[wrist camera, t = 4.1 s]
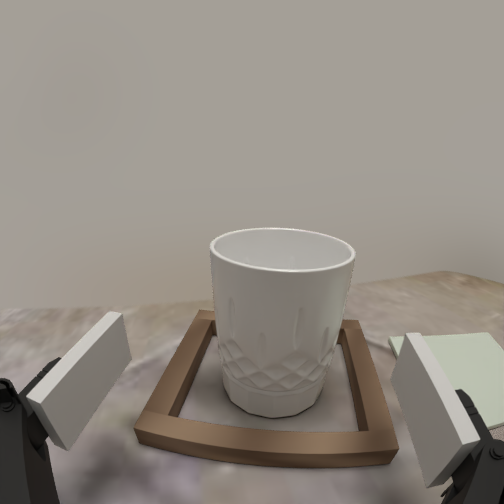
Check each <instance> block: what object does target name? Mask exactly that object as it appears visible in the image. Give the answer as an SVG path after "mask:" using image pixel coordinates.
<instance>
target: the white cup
mask: <svg viewBox="0 0 504 504" xmlns="http://www.w3.org/2000/svg"><path fill="white" fill-rule="evenodd" d="M355 256H356V253H355V250H354V249H353V248H352V247H351V246H350V245H349V244H348V243H346V242H344V241H342V240H340V239H338V238H335V237H332V236H329V235H325V234H321V233H317V232H312V231H307V230H298V229H289V228H253V229H244V230H238V231H233V232H229V233H226V234H223V235H220V236H218V237H217V238H215V239H214V240H213V241H212V242H211V244H210V258H211V273H212V285H213V286H212V287H213V300H214V313H215V324H216V332H217V337H218V349H219V355H220V359H221V363H222V374H223V384H224V388H225V390H226V392H227V394H228V396H229V398H230V400H231V401H232V402H233V403H235V404H236V405H237V406H239V407H240V408H242V409H243V410H245V411H246V412H248V413H251V414H255V415H259V416H264V417H269V418H277V417H285V416H292V415H296V414H298V413H300V412H302V411H303V410H305V409H307V408H309V407H310V406H312V405H314V403H315V401H316V400H317V398H318V396H319V394H320V393H321V391H322V388H323V385H324V381H325V377H326V373H327V370H328V368H329V366H330V363H331V361H332V357H333V353H334V349H335V346H336V343H337V339H338V335H339V332H340V328H341V324H342V320H343V315H344V311H345V306H346V302H347V297H348V292H349V287H350V282H351V277H352V272H353V266H354V261H355Z"/></svg>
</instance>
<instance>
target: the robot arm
mask: <svg viewBox="0 0 504 504" xmlns="http://www.w3.org/2000/svg"><path fill="white" fill-rule="evenodd" d="M131 360H132V357H131V353H130V349H129V344H128V340H127V335H126V330H125V325H124V320H123V314H122V313H117V312H111V311H109V312H108V313H107V314H106V315H105V316H104V317H103V318H102V319H101V320H100V321H99V322H98V323H97V324H96V325H95V326H94V327H93V328H92V329H91V330H90V331H89V332H88V333H87V334H85V335H84V336H83V337H82V338H81V339H80V340H79V341H78V342H77V343H76V344H75V345H74V346H73V348H72V349H71V350H70V351H69V352H68V353H67V354H66V355H65V356H64V357H63V358H59V357H58V358H57V359H55V360H53V361H51V362H49V363H48V364H47V365H46V366H45V367H44V368H43V369H42V371H40V372H39V373H38V374H37V377H35V378H34V379H33V380H32V381H31V382H30V383H29V384H28V385H27V386H26V387H25V388H24V389H23V390H22V391H21V392H20V393H19V394H17V392H16V390H15V388H14V386H13V384H12V383H11V381H10V380H8V379H5V378H0V504H60V502H59V499H58V495H57V491H56V486H55V482H54V477H53V473H52V468H51V462H50V457H49V451H48V445H47V443H46V441H45V440H46V438H47V437H48V436H49V437H50V439H51V440H52V442H53V443H54V445H56V446H58V447H60V448H62V449H64V450H67V451H69V450H70V449H71V447H72V446H73V444H74V443H75V441H76V440H77V438H78V436H79V435H80V433H81V432H82V430H83V429H84V427H85V426H86V425H87V423H88V422H89V420H90V419H91V417H92V416H93V414H94V413H95V411H96V410H97V408H98V407H99V405H100V404H101V402H102V401H103V400H104V398H105V397H106V395H107V394H108V392H109V391H110V389H111V388H112V387H113V385H114V384H115V382H116V381H117V379H118V378H119V377H120V375H121V374H122V372H123V371H124V369H125V368H126V367H127V365H128V364H129V362H130V361H131ZM391 382H392V384H393V387H394V390H395V392H396V395H397V398H398V401H399V403H400V406H401V409H402V412H403V415H404V418H405V420H406V423H407V426H408V429H409V432H410V435H411V438H412V441H413V444H414V448H415V451H416V454H417V457H418V460H419V464H420V467H421V470H422V474H423V477H424V481H425V484H426V488H430V487H434V486H437V485H441V484H444V483H445V482H446V481H447V480H448V479H449V477H450V476H452V479H453V483H452V484H451V485H450V486H449V487H448V488H447V489H446V490H445V491H444V492H443V493H442V495H441V497H443V496H444V495H445V494H446V495H445V497H444V499H443V501H442V503H441V504H504V442H503V441H501V440H497V439H493V438H492V436H491V434H490V432H489V430H488V428H487V426H486V424H485V423H484V421H483V419H482V417H481V415H480V414H479V412H478V410H477V408H476V407H475V405H474V403H473V401H472V399H471V398H470V396H469V395H468V394H466V393H465V392H464V391H463V390H462V389H458V390H454V388H453V387H452V385H451V383H450V381H449V380H448V378H447V376H446V374H445V373H444V371H443V369H442V368H441V366H440V364H439V363H438V361H437V359H436V358H435V356H434V355H433V353H432V351H431V350H430V348H429V347H428V345H427V343H426V342H425V340H424V339H423V337H422V336H421V334H420V333H405V337H404V340H403V343H402V346H401V349H400V353H399V356H398V359H397V362H396V365H395V368H394V370H393V373H392V376H391Z"/></svg>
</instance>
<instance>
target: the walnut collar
mask: <svg viewBox="0 0 504 504" xmlns="http://www.w3.org/2000/svg"><path fill="white" fill-rule="evenodd" d="M212 335H217V332H216V324H215V313H214V311H207V310H199V311H198V313H197V315H196V317H195V318H194V320H193V322H192V324H191V325H190V327H189V329H188V331H187V333H186V334H185V336H184V338H183V340H182V341H181V343H180V345H179V347H178V348H177V350H176V352H175V354H174V356H173V357H172V359H171V361H170V363H169V364H168V366H167V368H166V370H165V372H164V373H163V375H162V377H161V379H160V381H159V382H158V384H157V386H156V388H155V390H154V391H153V393H152V395H151V397H150V399H149V400H148V402H147V404H146V406H145V408H144V409H143V411H142V413H141V415H140V417H139V419H138V420H137V422H136V424H135V426H134V431H135V433H136V436H137V438H138V441H139V443H141V444H144V445H148V446H151V447H155V448H159V449H163V450H167V451H172V452H176V453H181V454H185V455H190V456H195V457H201V458H206V459H212V460H218V461H225V462H232V463H240V464H249V465H260V466H273V467H293V468H336V467H356V466H369V465H379V464H388V463H390V462H391V461H392V459H393V458H394V456H395V455H396V453H397V451H398V450H399V446H398V442H397V438H396V435H395V431H394V428H393V424H392V421H391V417H390V414H389V411H388V407H387V404H386V401H385V397H384V394H383V391H382V388H381V385H380V382H379V379H378V376H377V373H376V370H375V367H374V364H373V361H372V358H371V355H370V352H369V349H368V346H367V343H366V341H365V338H364V335H363V332H362V329H361V327H360V324H359V321H358V320H342V324H341V328H340V332H339V335H338V339H337V343H341V344H342V349H343V353H344V358H345V362H346V367H347V371H348V376H349V380H350V385H351V390H352V395H353V400H354V405H355V410H356V415H357V421H358V426H359V431H357V432H291V431H274V430H261V429H250V428H241V427H232V426H225V425H218V424H211V423H205V422H199V421H193V420H188V419H182V418H177V417H178V415H179V413H180V410H181V408H182V405H183V403H184V401H185V398H186V396H187V394H188V391H189V389H190V387H191V384H192V382H193V380H194V377H195V375H196V372H197V370H198V368H199V365H200V363H201V361H202V358H203V356H204V354H205V351H206V349H207V347H208V344H209V342H210V340H211V337H212Z"/></svg>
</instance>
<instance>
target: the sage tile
mask: <svg viewBox="0 0 504 504" xmlns="http://www.w3.org/2000/svg"><path fill="white" fill-rule="evenodd" d="M422 337H423V339H424V340H425V342H426V343H427V345H428V347H429V348H430V350H431V351H432V353H433V355H434V356H435V358H436V359H437V361H438V363H439V364H440V366H441V368H442V369H443V371H444V373H445V374H446V376H447V378H448V380H449V381H450V383H451V385H452V387H453V388H454V390H458V389H462V390H463V391H464V392H465V393H466V394H468V395H469V396H470V398H471V399H472V401H473V403H474V405H475V407H476V408H477V410H478V412H479V414H480V415H481V417H482V419H483V421H484V423H485V424H486V426H487V428H488V430H490V429H493V428H496V427H499V426H503V425H504V350H503V349H502V348H501V347H500V346H499V344H498V343H497V342H496V341H495V340H494V339H493V338H492V336H491V335H490V334H489V333H488V332H485V333H472V334H457V335H438V336H422ZM403 340H404V337H389V340H388V341H389V343H390V345H391V348H392V350H393V352H394V354H395V356H396V359H398V356H399V353H400V349H401V346H402V343H403Z"/></svg>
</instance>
